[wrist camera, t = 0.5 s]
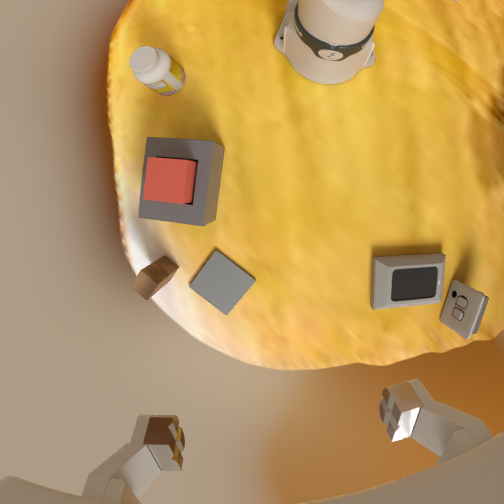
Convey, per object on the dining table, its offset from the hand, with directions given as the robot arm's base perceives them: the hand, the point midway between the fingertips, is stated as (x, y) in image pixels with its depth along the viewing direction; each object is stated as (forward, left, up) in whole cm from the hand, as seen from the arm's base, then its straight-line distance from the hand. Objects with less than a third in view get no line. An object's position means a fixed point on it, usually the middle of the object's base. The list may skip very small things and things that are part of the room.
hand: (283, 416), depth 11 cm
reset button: (-7, -18, -39) cm, 43 cm away
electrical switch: (+8, +38, -47) cm, 61 cm away
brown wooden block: (+10, -21, -47) cm, 52 cm away
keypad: (+5, +25, -47) cm, 54 cm away
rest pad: (+11, -10, -47) cm, 49 cm away
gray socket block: (-7, -18, -47) cm, 50 cm away
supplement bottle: (-26, -25, -47) cm, 59 cm away
